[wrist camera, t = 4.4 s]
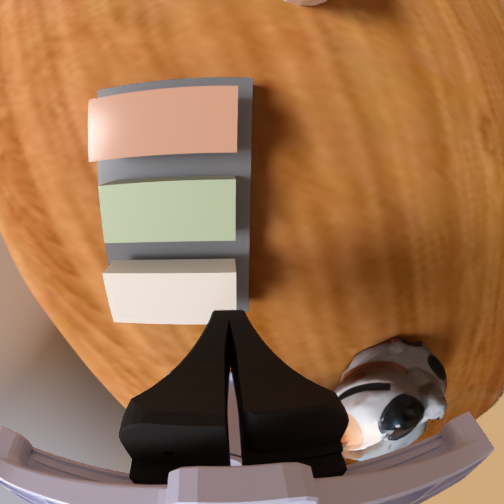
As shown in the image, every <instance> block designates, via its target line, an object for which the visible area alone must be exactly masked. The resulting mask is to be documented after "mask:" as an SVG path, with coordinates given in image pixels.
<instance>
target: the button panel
mask: <svg viewBox="0 0 504 504" xmlns="http://www.w3.org/2000/svg"><path fill="white" fill-rule="evenodd" d="M192 86H238V121H237V153H187V154H167V155H152V156H139V157H128V158H118V159H109V160H101V161H97V170H98V186H100V185H102V184H105V183H107V182H110V181H118V180H131V179H145V178H162V177H184V176H235V178H236V241H180V242H132V243H105V247H106V253H107V259H108V265H110V263H111V262H112V261H113V260H170V259H235V264H236V310H243V311H244V312H248V307H249V249H250V196H251V146H252V98H253V78H243V77H210V78H187V79H172V80H161V81H152V82H144V83H136V84H129V85H123V86H117V87H111V88H106V89H101V90H98V91H97V98H100V97H105V96H111V95H117V94H123V93H130V92H137V91H145V90H154V89H164V88H176V87H192Z"/></svg>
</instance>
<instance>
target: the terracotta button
mask: <svg viewBox="0 0 504 504" xmlns="http://www.w3.org/2000/svg"><path fill="white" fill-rule="evenodd" d="M237 121H238V86H192V87H176V88H164V89H154V90H145V91H137V92H130V93H123V94H117V95H111V96H105V97H100V98H95V99H90V100H89V108H88V153H89V162H93V161H101V160H109V159H118V158H128V157H139V156H152V155H167V154H187V153H237Z"/></svg>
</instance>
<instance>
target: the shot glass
mask: <svg viewBox="0 0 504 504" xmlns="http://www.w3.org/2000/svg"><path fill="white" fill-rule="evenodd" d="M284 1H285V2H289V3H293V4H296V5H300V6H315V5H318V4H321V3H324V2H326V1H327V0H284Z"/></svg>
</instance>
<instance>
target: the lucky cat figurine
mask: <svg viewBox="0 0 504 504" xmlns="http://www.w3.org/2000/svg"><path fill="white" fill-rule="evenodd" d="M446 387H447V378H446V373H445V369H444V367H443V365H442V364H441V362H440V361H439V360H438V359H437V358H436V357H435V356H434V354H433V353H432V352H431V351H430V350H429V348H428V347H426V345H425V343H424V342H423V341H420V342H415V343H412V342H408V341H405V340H402V339H399V338H393V339H391V340H389V341H386V342H384V343H381V344H379V345H376V346H374V347H371V348H368V349H366V350H363V351H362V352H360V353H358V354H356V355H355V357H354V358H353V360H352V362H351V364H350V365H349V367H348V368H347V369H346V370H344V372H343V374H342V376H341V379H340V382H339V384H338V385H337V386H336V388H335V390H334V391H333V392H335V393H336V394H337V396H338V397H339V399H340V401H341V402H342V404H343V406H344V407H345V409H346V412H347V414H348V417H349V424H348V427H347V429H346V431H345V433H344V435H343V437H342V439H341V443H342V446H343V452H341V453H342V455H343V457H345V458H349V459H353V460H358V461H364V460H367V459H371V458H374V457H377V456H381V455H384V454H387V453H390V452H393V451H396V450H398V449H401V448H404V447H407V446H409V445H411V444H412V443H413V442H414V441H416V440H417V439H418V438H419V437H420V436H421V435H422V434H423V432H424V431H425V429H426V426H427V422H428V420H432V419H437V420H441V418H443V416H444V414H445V409H446V407H447V403H446V400H445V397H444V394H445V391H446Z"/></svg>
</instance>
